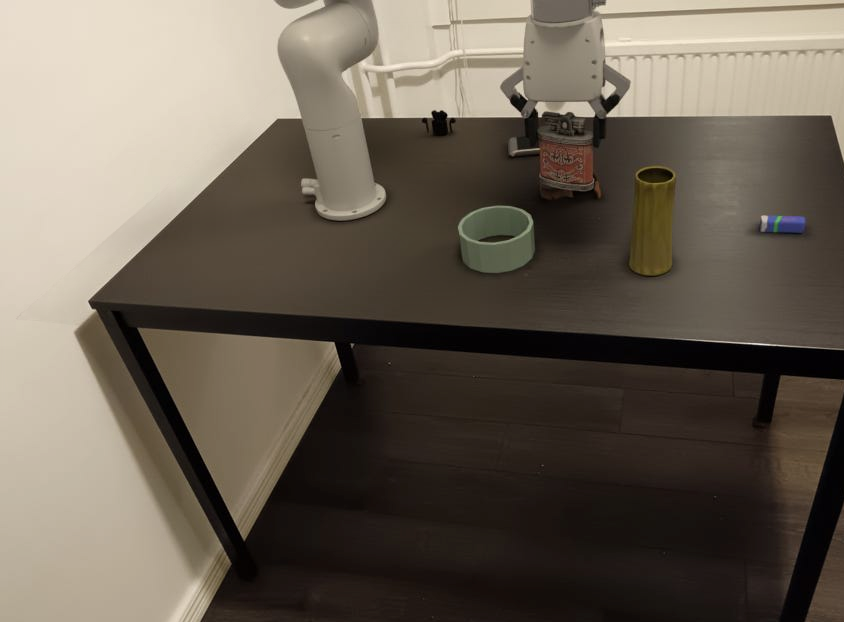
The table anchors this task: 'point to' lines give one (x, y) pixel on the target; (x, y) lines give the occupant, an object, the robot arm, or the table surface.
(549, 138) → the lighter
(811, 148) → the table surface
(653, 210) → the vase
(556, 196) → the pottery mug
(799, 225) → the eraser
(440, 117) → the wireless earbuds
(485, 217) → the pale green hollow ring
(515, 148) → the cell phone
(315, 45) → the robot arm
